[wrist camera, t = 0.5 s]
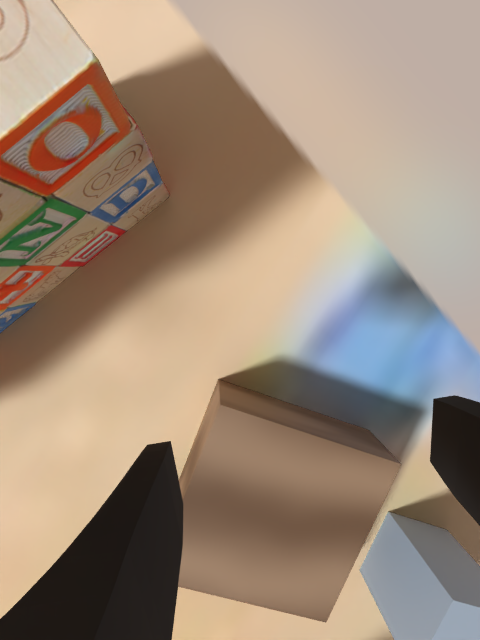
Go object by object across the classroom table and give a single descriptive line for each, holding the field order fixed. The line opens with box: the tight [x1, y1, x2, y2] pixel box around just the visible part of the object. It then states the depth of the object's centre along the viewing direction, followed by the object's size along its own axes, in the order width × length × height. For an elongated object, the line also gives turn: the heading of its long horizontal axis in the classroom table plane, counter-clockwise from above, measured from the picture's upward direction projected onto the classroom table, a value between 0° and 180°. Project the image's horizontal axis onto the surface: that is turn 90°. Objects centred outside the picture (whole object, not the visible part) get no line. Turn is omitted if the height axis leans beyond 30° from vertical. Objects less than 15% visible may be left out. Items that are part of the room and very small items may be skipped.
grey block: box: [360, 512, 480, 640], centre depth 20 cm, size 5×5×6 cm
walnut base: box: [178, 379, 401, 622], centre depth 19 cm, size 10×10×4 cm
